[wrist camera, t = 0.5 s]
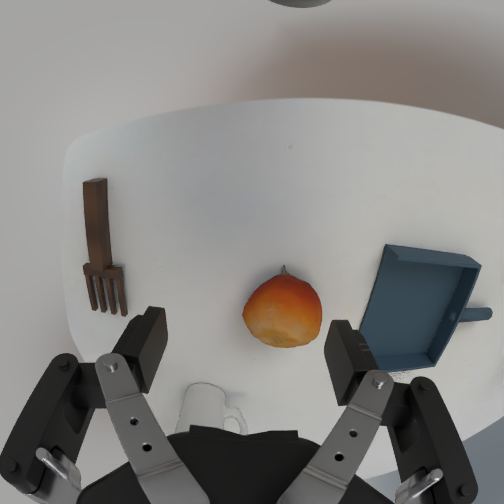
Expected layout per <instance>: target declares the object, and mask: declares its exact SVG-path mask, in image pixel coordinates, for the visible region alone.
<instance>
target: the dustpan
mask: <svg viewBox="0 0 504 504" xmlns="http://www.w3.org/2000/svg"><path fill="white" fill-rule="evenodd" d="M481 266H482V265H480V264H479V263H478V262H476V261H475V260H473V259H472V258H470V257H469V256H466V255H461V254H454V253H447V252H440V251H433V250H426V249H418V248H411V247H403V246H396V245H388V244H386V245H385V249H384V252H383V256H382V260H381V263H380V267H379V271H378V274H377V277H376V281H375V284H374V287H373V290H372V294H371V297H370V300H369V303H368V306H367V309H366V312H365V315H364V317H363V320H362V323H361V326H360V329H359V332H360V333H361V334H362V335H363V336H364V338H365V340H366V342H367V345H368V346H369V348H370V351H371V352H372V354H373V356H374V358H375V361H376V363H377V365H378V367H379V369H380V370H381V371H384V372H386V373H387V372H397V371H406V370H414V369H421V368H428V367H435V365H436V364H437V362H438V360H439V358H440V357H441V355H442V353H443V351H444V350H445V348H446V346H447V344H448V342H449V340H450V338H451V336H452V334H453V333H454V331H455V329H456V327H457V324H458V322H469V321H480V320H489V319H490V318H491V317H492V310H491V308H488V307H487V308H465V307H466V305H467V303H468V300H469V298H470V295H471V293H472V291H473V288H474V285H475V283H476V280H477V278H478V275H479V272H480V269H481ZM462 269H463V270H462ZM461 272H462V273H461ZM460 275H461V276H460ZM459 278H460V279H459ZM457 283H458V284H457ZM456 286H457V287H456ZM454 291H455V292H454ZM452 296H453V297H452ZM450 301H451V302H450ZM449 303H450V304H449ZM447 308H448V309H447ZM446 310H447V311H446ZM443 317H444V318H443ZM442 319H443V320H442ZM441 321H442V322H441ZM435 334H436V335H435ZM434 336H435V337H434ZM426 351H427V352H426Z"/></svg>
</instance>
